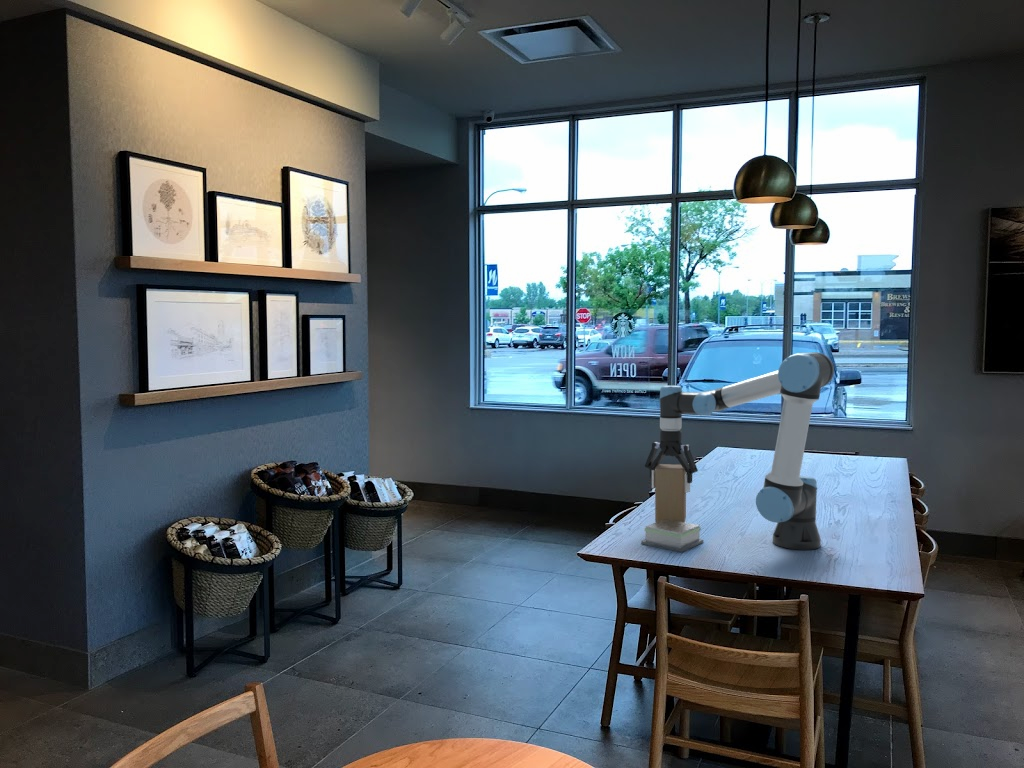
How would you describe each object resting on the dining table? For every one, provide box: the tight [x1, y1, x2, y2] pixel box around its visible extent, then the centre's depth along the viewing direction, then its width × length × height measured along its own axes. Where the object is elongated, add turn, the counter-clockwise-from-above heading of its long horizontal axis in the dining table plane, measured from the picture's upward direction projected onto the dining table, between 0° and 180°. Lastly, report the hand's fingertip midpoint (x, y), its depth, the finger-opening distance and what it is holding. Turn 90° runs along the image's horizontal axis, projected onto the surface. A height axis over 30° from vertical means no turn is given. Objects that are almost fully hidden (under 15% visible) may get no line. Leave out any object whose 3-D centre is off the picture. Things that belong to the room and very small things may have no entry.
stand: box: [640, 519, 704, 553], centre depth 268 cm, size 15×15×6 cm
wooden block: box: [654, 463, 687, 523], centre depth 283 cm, size 10×10×20 cm
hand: (670, 490), depth 283 cm, fingers closed on wooden block, 12 cm apart
